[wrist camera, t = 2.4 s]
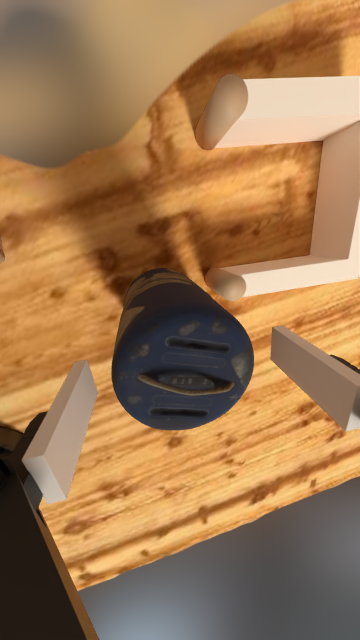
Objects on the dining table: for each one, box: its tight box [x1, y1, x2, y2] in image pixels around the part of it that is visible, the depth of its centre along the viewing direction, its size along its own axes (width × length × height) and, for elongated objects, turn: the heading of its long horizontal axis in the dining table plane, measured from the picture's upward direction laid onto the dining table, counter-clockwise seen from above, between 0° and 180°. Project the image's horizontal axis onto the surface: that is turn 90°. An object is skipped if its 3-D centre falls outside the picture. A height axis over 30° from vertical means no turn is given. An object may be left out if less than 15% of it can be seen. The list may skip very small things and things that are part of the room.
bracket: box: [195, 73, 360, 301], centre depth 23 cm, size 17×18×6 cm
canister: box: [112, 268, 254, 430], centre depth 20 cm, size 10×10×18 cm
